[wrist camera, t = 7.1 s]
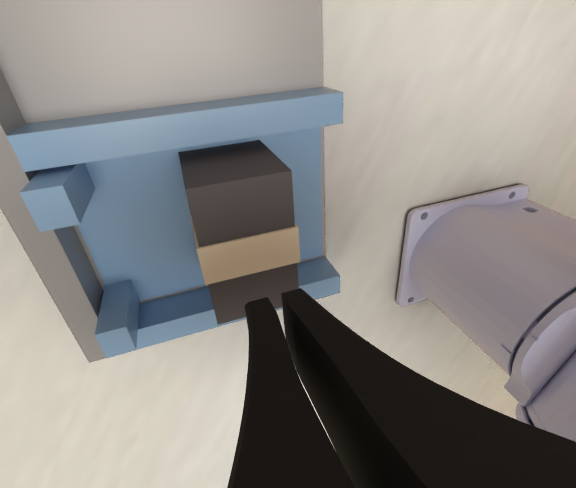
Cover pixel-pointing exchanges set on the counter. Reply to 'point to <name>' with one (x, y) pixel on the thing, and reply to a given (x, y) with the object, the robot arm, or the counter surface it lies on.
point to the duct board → (151, 147)
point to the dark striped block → (242, 224)
